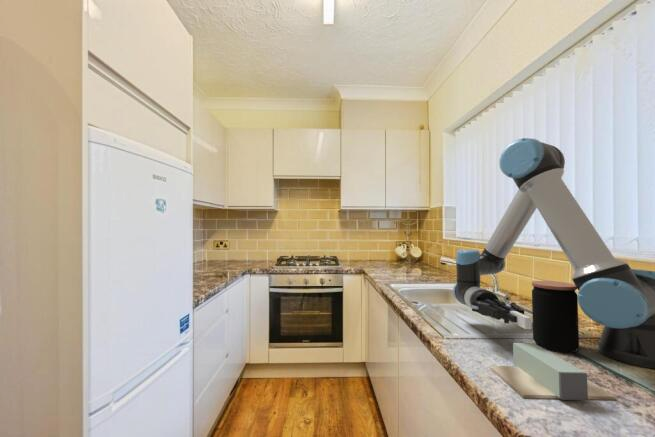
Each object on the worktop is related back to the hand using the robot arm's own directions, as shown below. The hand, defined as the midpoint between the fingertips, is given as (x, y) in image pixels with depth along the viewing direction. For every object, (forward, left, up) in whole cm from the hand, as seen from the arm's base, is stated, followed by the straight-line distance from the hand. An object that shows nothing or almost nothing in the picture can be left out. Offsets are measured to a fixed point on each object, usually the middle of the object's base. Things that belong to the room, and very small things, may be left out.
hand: (528, 323), depth 73 cm
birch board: (0, +6, -11) cm, 12 cm away
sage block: (0, -2, -8) cm, 8 cm away
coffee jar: (-17, -16, -11) cm, 26 cm away
